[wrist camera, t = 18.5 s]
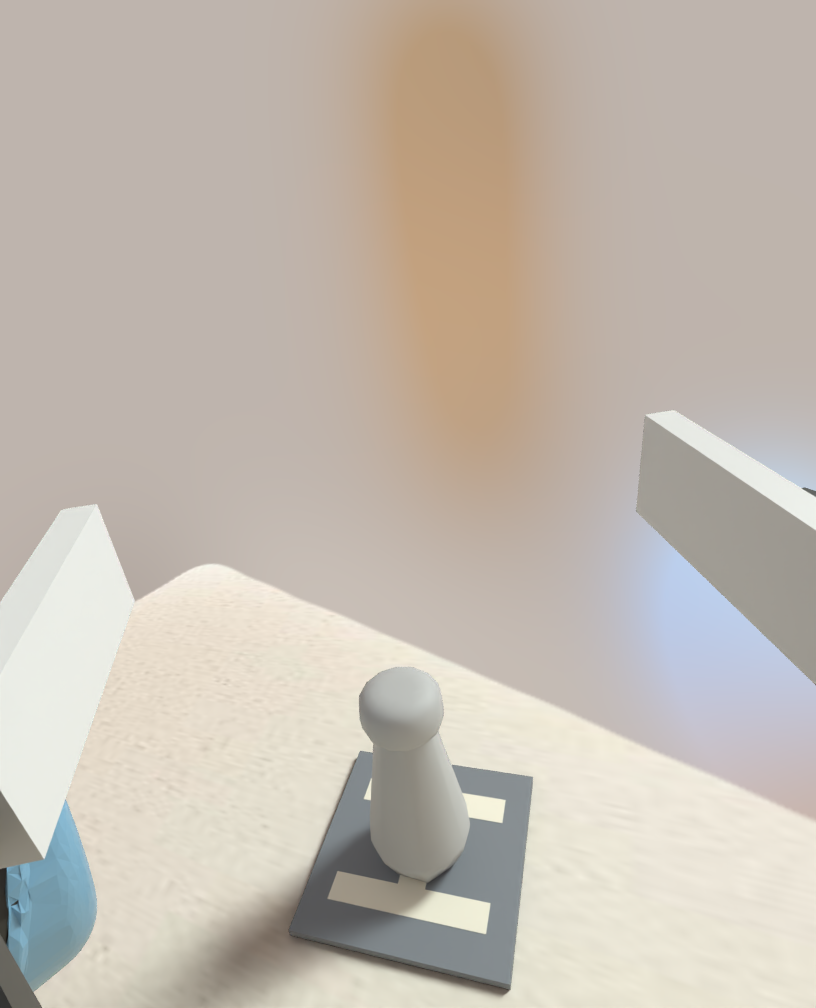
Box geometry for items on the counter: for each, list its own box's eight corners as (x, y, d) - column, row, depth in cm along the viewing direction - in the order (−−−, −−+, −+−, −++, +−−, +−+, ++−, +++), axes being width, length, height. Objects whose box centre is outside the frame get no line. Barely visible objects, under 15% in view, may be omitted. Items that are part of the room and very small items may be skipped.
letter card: (290, 935, 34) (288, 929, 34) (361, 755, 44) (360, 750, 44) (510, 989, 31) (509, 984, 31) (532, 782, 41) (532, 776, 41)
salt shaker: (373, 811, 40) (340, 656, 34) (462, 796, 40) (445, 640, 34) (378, 906, 34) (341, 743, 28) (480, 889, 35) (465, 723, 29)
